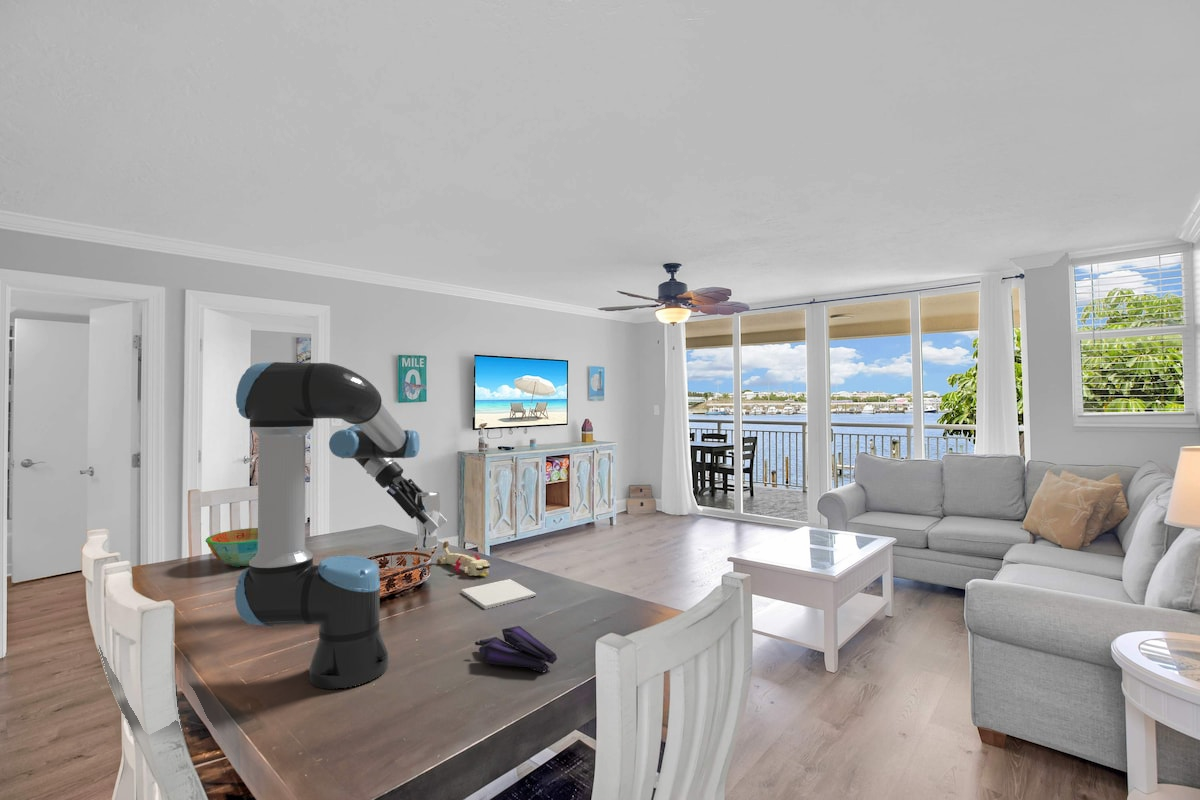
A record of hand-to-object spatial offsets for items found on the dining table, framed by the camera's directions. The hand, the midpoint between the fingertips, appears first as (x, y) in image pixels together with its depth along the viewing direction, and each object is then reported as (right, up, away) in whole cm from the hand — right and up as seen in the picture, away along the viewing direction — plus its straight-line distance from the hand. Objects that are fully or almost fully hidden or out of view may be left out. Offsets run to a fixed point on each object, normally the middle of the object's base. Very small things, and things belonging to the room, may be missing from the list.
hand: (439, 526), depth 163 cm
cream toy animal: (+1, -20, +26) cm, 33 cm away
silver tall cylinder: (-4, -6, 0) cm, 7 cm away
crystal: (+27, -21, -39) cm, 52 cm away
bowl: (-76, -20, +31) cm, 84 cm away
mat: (+17, -20, +2) cm, 26 cm away
